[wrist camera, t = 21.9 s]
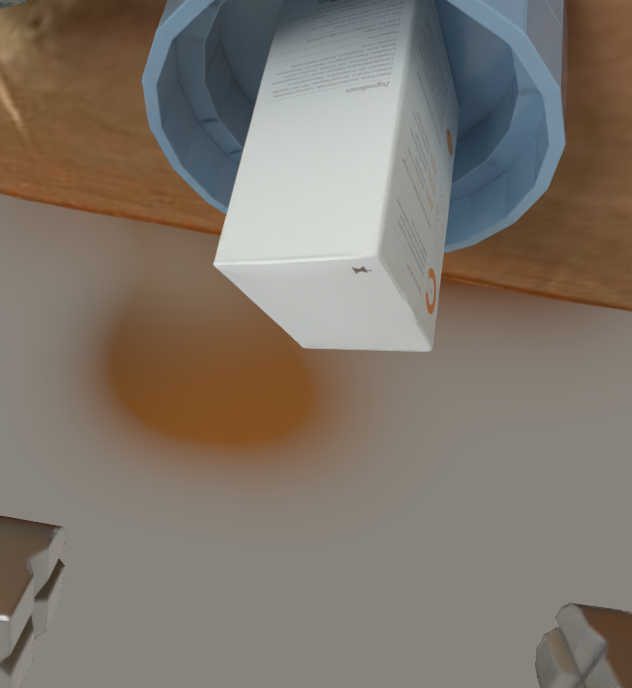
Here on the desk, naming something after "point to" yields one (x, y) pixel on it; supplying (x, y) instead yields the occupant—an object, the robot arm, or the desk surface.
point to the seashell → (10, 3)
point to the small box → (347, 176)
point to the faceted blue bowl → (468, 76)
